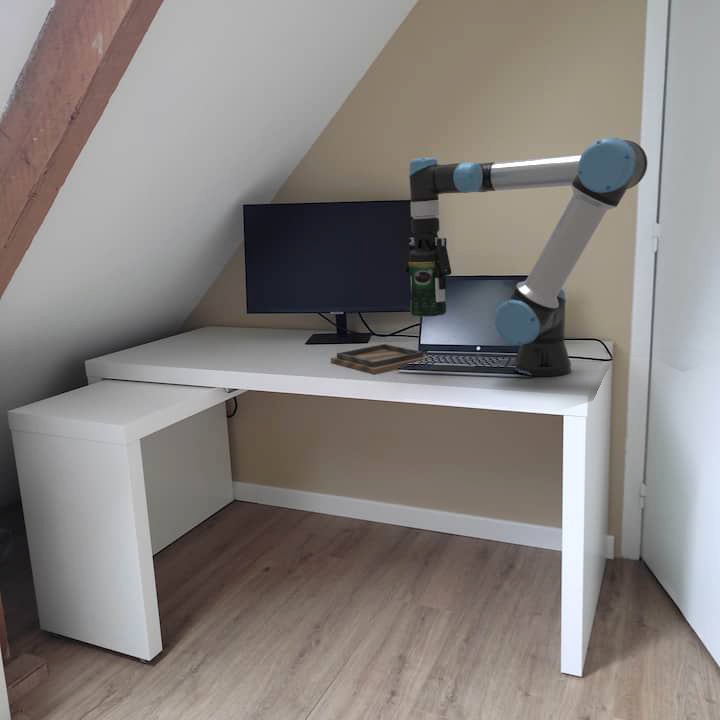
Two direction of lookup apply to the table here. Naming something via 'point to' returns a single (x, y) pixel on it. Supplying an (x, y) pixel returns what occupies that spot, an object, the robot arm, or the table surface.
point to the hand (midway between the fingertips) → (428, 300)
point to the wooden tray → (378, 358)
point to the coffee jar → (424, 283)
